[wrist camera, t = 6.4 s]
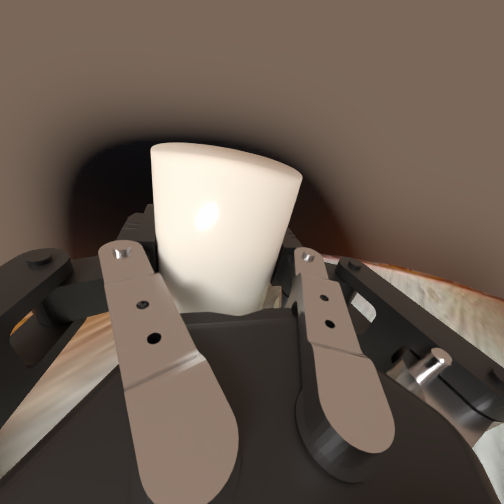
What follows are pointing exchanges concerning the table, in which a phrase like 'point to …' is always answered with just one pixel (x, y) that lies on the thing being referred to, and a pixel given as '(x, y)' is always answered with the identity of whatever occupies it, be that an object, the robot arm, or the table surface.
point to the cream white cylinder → (219, 224)
